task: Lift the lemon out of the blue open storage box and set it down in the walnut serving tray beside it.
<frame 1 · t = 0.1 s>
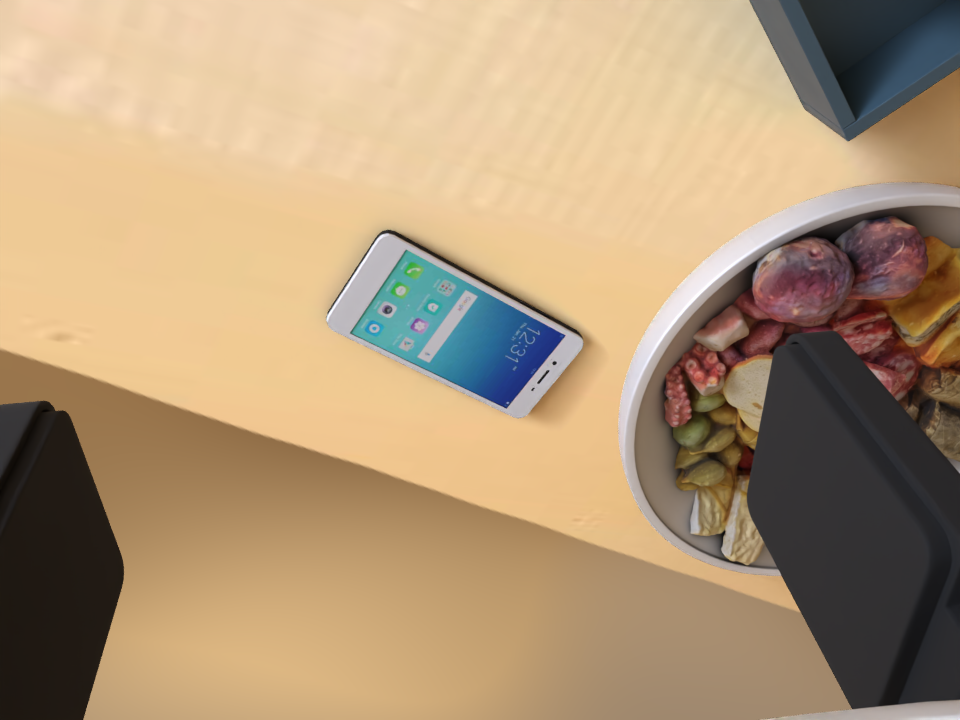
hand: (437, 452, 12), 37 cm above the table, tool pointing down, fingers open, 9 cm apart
smartphone: (457, 325, 55), on the table
bowl: (818, 368, 60), on the table
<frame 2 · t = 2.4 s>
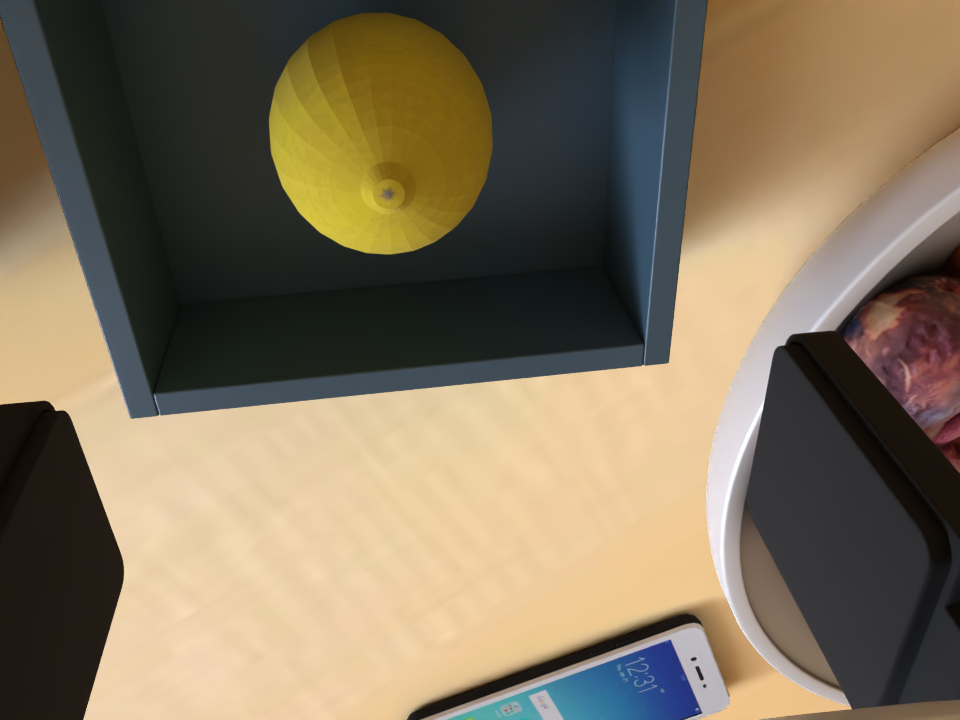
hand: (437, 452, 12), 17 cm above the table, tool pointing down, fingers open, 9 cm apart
lemon: (376, 84, 25), resting on blue open storage box
blue open storage box: (376, 83, 25), on the table
smartphone: (568, 700, 43), on the table
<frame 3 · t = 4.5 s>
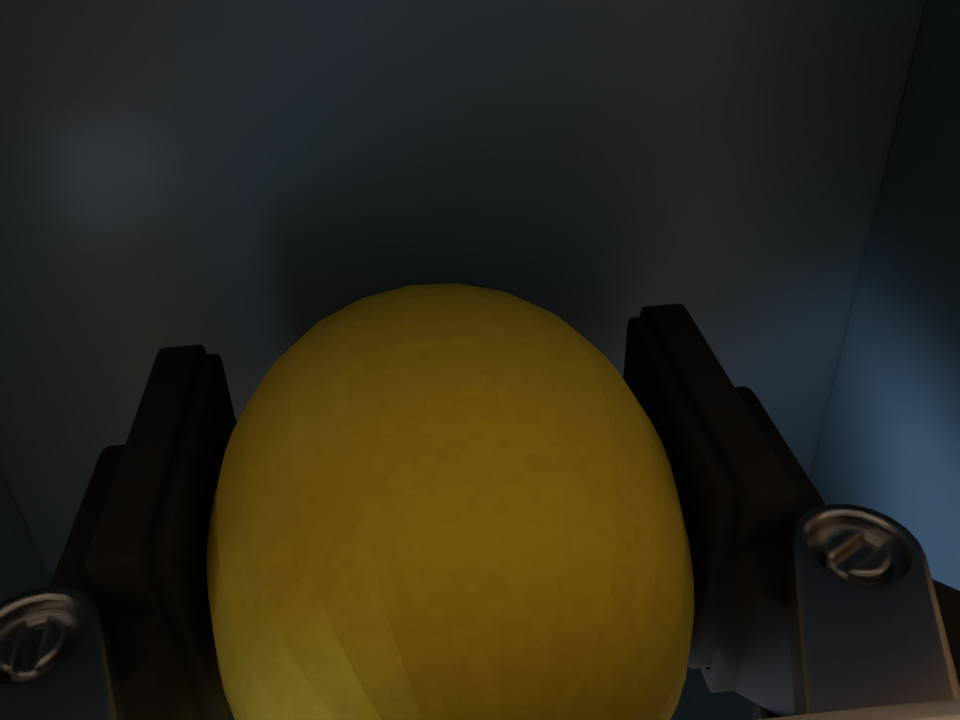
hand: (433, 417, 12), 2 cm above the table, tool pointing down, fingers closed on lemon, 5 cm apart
lemon: (425, 345, 14), resting on blue open storage box, touching gripper
blue open storage box: (424, 341, 14), on the table
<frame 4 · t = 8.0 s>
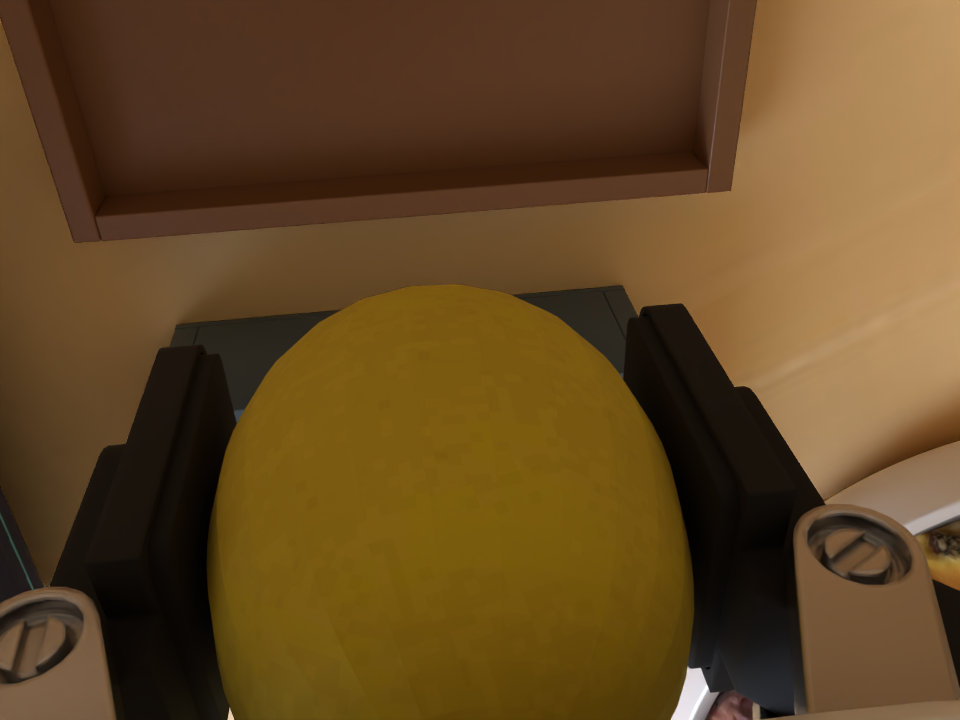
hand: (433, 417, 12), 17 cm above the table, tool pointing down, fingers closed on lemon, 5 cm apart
lemon: (425, 345, 14), point 15 cm above the table, touching gripper
blue open storage box: (419, 463, 34), on the table
bowl: (938, 619, 44), on the table
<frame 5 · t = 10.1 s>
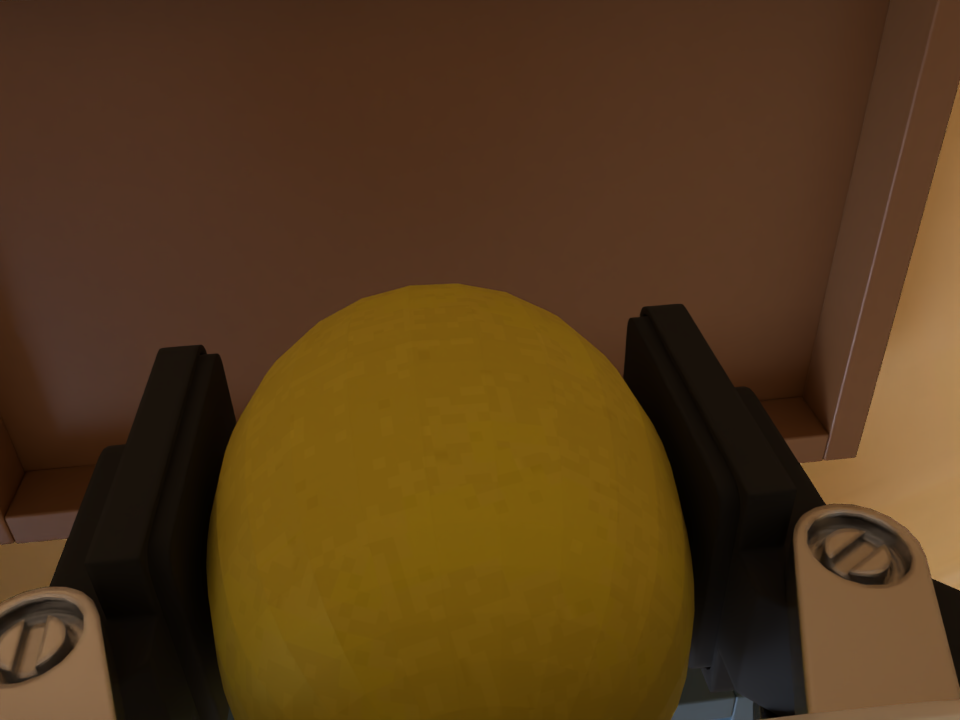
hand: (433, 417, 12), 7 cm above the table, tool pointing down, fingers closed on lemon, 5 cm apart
tray: (409, 214, 18), on the table
lemon: (425, 345, 14), point 5 cm above the table, touching gripper
blue open storage box: (434, 719, 28), on the table
when the fingers open (3 cm above the table, at t = 11.6 s): lemon stays where it is, resting on tray.
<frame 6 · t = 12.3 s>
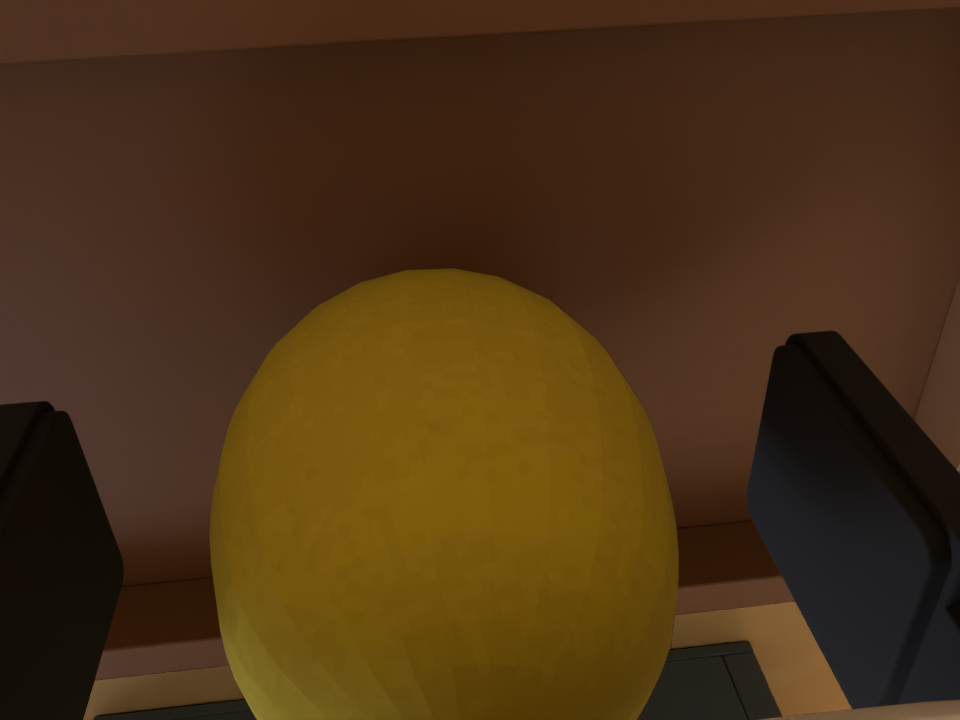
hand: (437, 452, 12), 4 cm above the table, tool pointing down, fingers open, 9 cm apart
tray: (424, 304, 15), on the table
lemon: (422, 331, 14), point 1 cm above the table, touching tray
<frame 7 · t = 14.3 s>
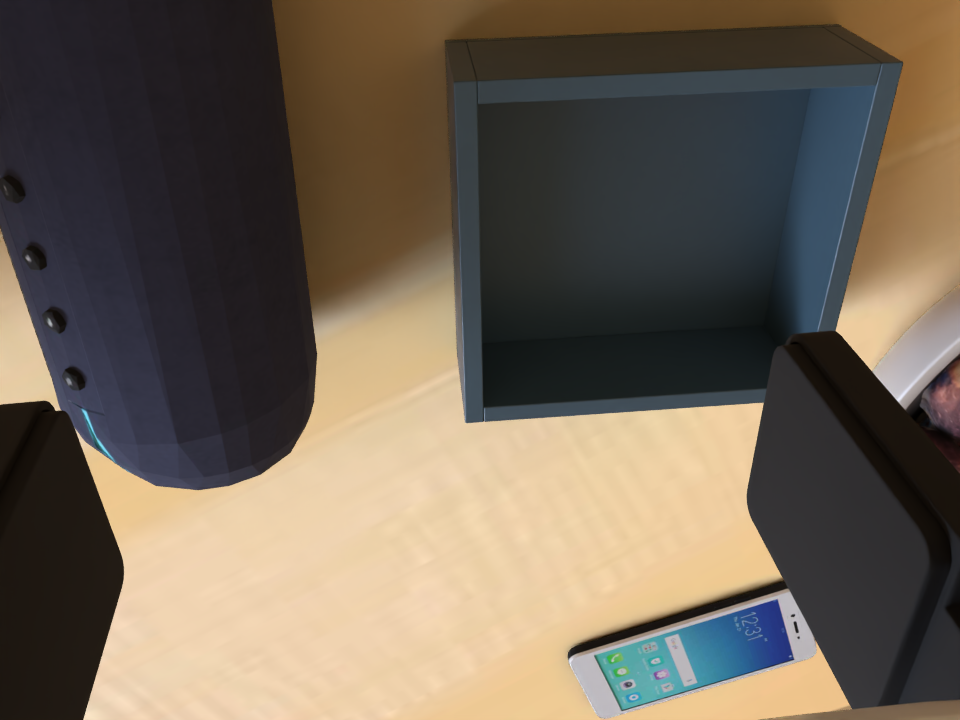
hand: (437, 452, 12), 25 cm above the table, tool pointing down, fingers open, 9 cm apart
portable speaker: (175, 110, 34), on the table
blue open storage box: (629, 205, 38), on the table
smartphone: (690, 644, 56), on the table
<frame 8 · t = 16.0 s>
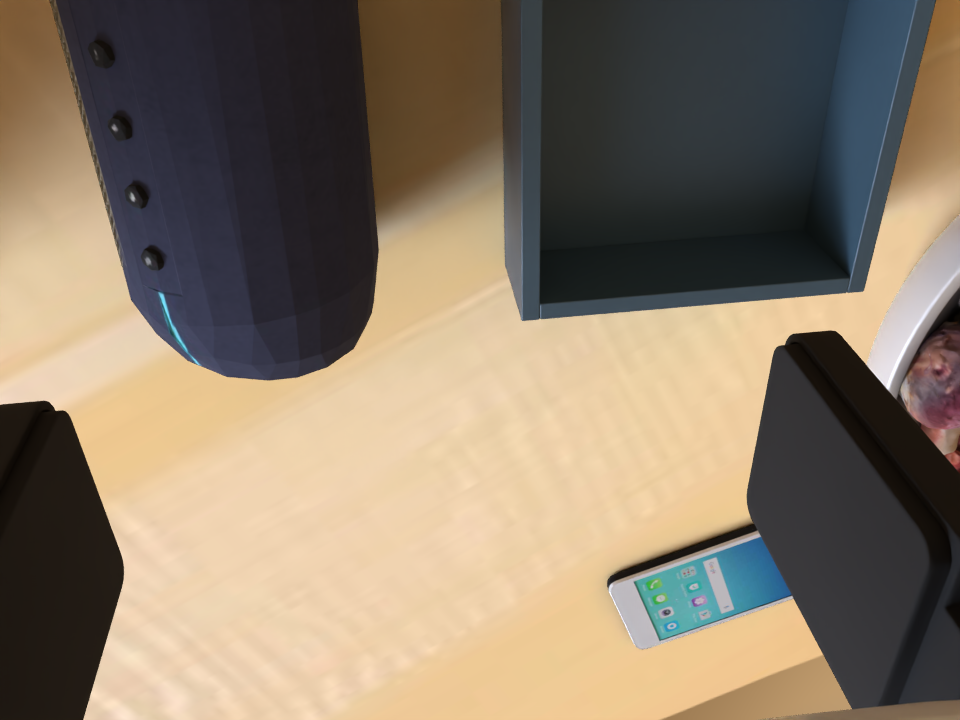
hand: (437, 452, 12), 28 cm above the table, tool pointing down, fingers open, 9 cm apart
portable speaker: (235, 10, 35), on the table
blue open storage box: (675, 105, 39), on the table
smartphone: (726, 570, 57), on the table
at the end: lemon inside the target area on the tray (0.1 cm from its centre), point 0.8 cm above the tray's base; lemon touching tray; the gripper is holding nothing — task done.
